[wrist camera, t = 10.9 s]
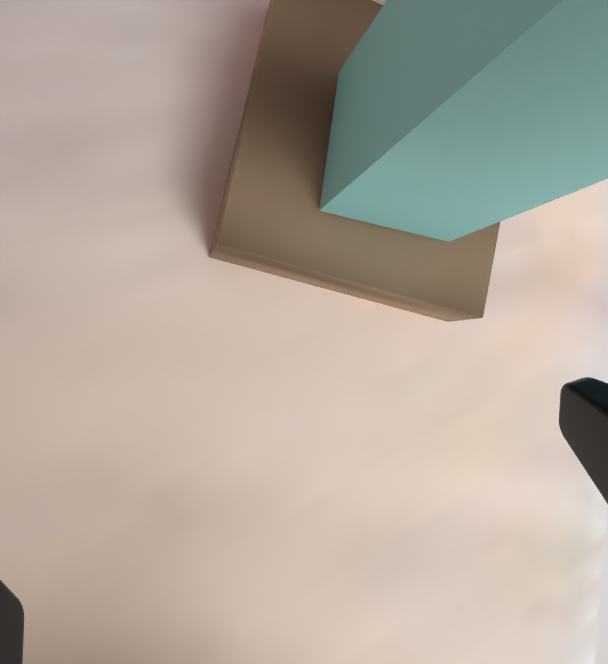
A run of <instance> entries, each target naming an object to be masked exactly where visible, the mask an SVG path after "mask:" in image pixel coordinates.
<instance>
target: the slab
mask: <svg viewBox="0 0 608 664" xmlns="http://www.w3.org/2000/svg"><path fill="white" fill-rule="evenodd" d="M382 7H383V5H381V4H378V3H376V2H374V1H371V0H271V2H270V5H269V8H268V12H267V16H266V20H265V25H264V29H263V33H262V37H261V41H260V46H259V50H258V54H257V58H256V63H255V67H254V71H253V75H252V79H251V84H250V88H249V92H248V96H247V100H246V105H245V109H244V113H243V117H242V122H241V126H240V130H239V134H238V138H237V143H236V147H235V151H234V155H233V159H232V164H231V168H230V172H229V176H228V181H227V185H226V189H225V193H224V197H223V202H222V206H221V210H220V214H219V218H218V223H217V227H216V231H215V235H214V240H213V244H212V248H211V252H210V256H209V257H210V258H214V259H218V260H221V261H225V262H229V263H233V264H236V265H240V266H244V267H247V268H251V269H255V270H258V271H262V272H266V273H270V274H273V275H277V276H281V277H284V278H288V279H292V280H296V281H299V282H303V283H307V284H310V285H314V286H318V287H321V288H325V289H329V290H333V291H336V292H340V293H344V294H347V295H351V296H355V297H358V298H362V299H366V300H370V301H373V302H377V303H381V304H384V305H388V306H392V307H395V308H399V309H403V310H407V311H410V312H414V313H418V314H421V315H425V316H429V317H433V318H436V319H440V320H444V321H447V322H449V321H458V320H467V319H475V318H483V314H484V308H485V302H486V297H487V291H488V286H489V280H490V275H491V269H492V264H493V258H494V253H495V247H496V242H497V236H498V230H499V225H500V222H497V223H495V224H492V225H490V226H487V227H485V228H482V229H480V230H477V231H475V232H472V233H470V234H467V235H465V236H462V237H460V238H457V239H455V240H452V241H450V242H447V241H443V240H439V239H435V238H430V237H426V236H422V235H418V234H414V233H410V232H405V231H401V230H397V229H393V228H389V227H385V226H381V225H376V224H372V223H368V222H364V221H360V220H356V219H351V218H347V217H343V216H339V215H335V214H331V213H326V212H322V211H319V209H320V202H321V194H322V187H323V180H324V173H325V166H326V159H327V152H328V145H329V138H330V131H331V124H332V117H333V110H334V103H335V96H336V89H337V81H338V74H339V71H340V69H341V68H342V66H343V65H344V63H345V62H346V60H347V59H348V58H349V56H350V55H351V53H352V52H353V50H354V49H355V47H356V46H357V44H358V43H359V41H360V40H361V38H362V37H363V35H364V34H365V32H366V31H367V29H368V28H369V26H370V25H371V23H372V22H373V20H374V19H375V17H376V16H377V14H378V13H379V11H380V10H381V9H382Z"/></svg>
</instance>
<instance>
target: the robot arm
mask: <svg viewBox="0 0 608 664" xmlns="http://www.w3.org/2000/svg"><path fill="white" fill-rule="evenodd" d="M559 426H560V429H561V432H562V434H563V436H564V438H565V439H566V441H567V442H568V444H569V445H570V447H571V449H572V450H573V452H574V453H575V455H576V456H577V458H578V459H579V461H580V462H581V464H582V465H583V467H584V468H585V470H586V471H587V473H588V475H589V476H590V478H591V479H592V481H593V482H594V484H595V485H596V487H597V488H598V490H599V491H600V493H601V494H602V496H603V497H604V499H605V501H606V502H607V504H608V383H605V382H602V381H600V380H597V379H594V378H589V377H586V378H581V379H578V380H575V381H572V382H569V383H566V384H565V385H563V387H562V389H561V395H560V411H559ZM23 636H24V611H23V607H22V605H21V603H20V601H19V599H18V598H17V597H16V596H15V595H14V594H13V593H12V592H11V591H10V590H9V589H8V588H7V587H6V585H5V584H4V583H3V582H2V581H1V580H0V664H22V661H23Z"/></svg>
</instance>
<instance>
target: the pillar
mask: <svg viewBox="0 0 608 664" xmlns="http://www.w3.org/2000/svg"><path fill="white" fill-rule="evenodd" d="M607 178H608V0H387V1H386V3H385V4H384V6H383V7H382V9H381V10H380V11H379V13H378V14H377V16H376V17H375V19H374V20H373V22H372V23H371V25H370V26H369V28H368V29H367V31H366V32H365V34H364V35H363V37H362V38H361V40H360V41H359V43H358V44H357V46H356V47H355V49H354V50H353V52H352V53H351V55H350V56H349V58H348V59H347V60H346V62H345V63H344V65H343V66H342V68H341V69H340V71H339V74H338V81H337V89H336V96H335V103H334V110H333V117H332V124H331V131H330V138H329V145H328V152H327V159H326V166H325V173H324V180H323V187H322V194H321V202H320V209H319V211H322V212H326V213H331V214H335V215H339V216H343V217H347V218H351V219H356V220H360V221H364V222H368V223H372V224H376V225H381V226H385V227H389V228H393V229H397V230H401V231H405V232H410V233H414V234H418V235H422V236H426V237H430V238H435V239H439V240H443V241H447V242H450V241H452V240H455V239H457V238H460V237H462V236H465V235H467V234H470V233H472V232H475V231H477V230H480V229H482V228H485V227H487V226H490V225H492V224H495V223H497V222H500V221H502V220H505V219H507V218H510V217H512V216H515V215H517V214H520V213H522V212H525V211H527V210H530V209H532V208H535V207H537V206H540V205H542V204H545V203H547V202H550V201H552V200H555V199H557V198H560V197H562V196H565V195H567V194H570V193H572V192H575V191H577V190H580V189H582V188H585V187H587V186H590V185H592V184H595V183H597V182H600V181H602V180H605V179H607Z"/></svg>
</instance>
